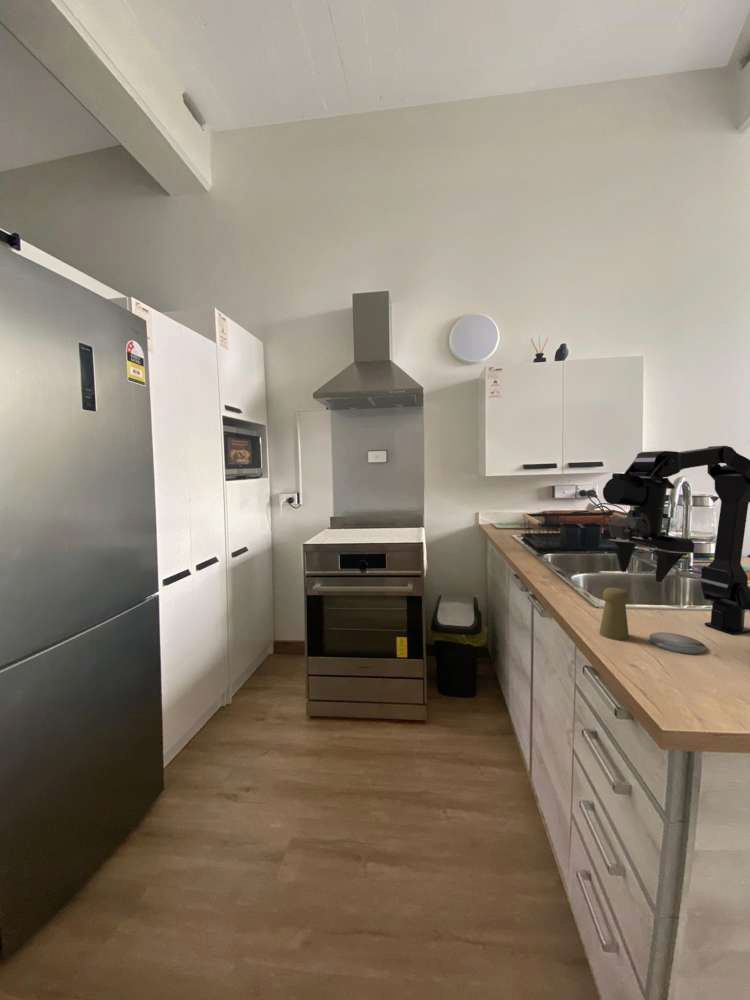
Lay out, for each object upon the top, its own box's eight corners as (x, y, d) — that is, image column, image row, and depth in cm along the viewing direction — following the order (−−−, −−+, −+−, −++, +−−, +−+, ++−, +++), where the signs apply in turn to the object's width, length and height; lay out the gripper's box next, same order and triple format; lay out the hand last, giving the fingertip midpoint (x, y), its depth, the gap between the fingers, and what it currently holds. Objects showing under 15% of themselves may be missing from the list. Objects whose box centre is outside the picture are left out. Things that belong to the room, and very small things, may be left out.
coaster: (672, 633, 100) (672, 630, 100) (716, 651, 91) (716, 647, 91) (638, 638, 98) (638, 634, 98) (680, 656, 88) (680, 652, 88)
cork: (633, 641, 96) (635, 593, 95) (603, 639, 97) (606, 591, 96) (623, 631, 102) (625, 586, 101) (595, 629, 103) (597, 584, 102)
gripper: (587, 501, 102) (580, 566, 103) (657, 509, 84) (647, 587, 85) (625, 505, 105) (617, 567, 106) (700, 512, 87) (691, 588, 88)
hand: (640, 576), depth 96 cm, fingers open, 9 cm apart
